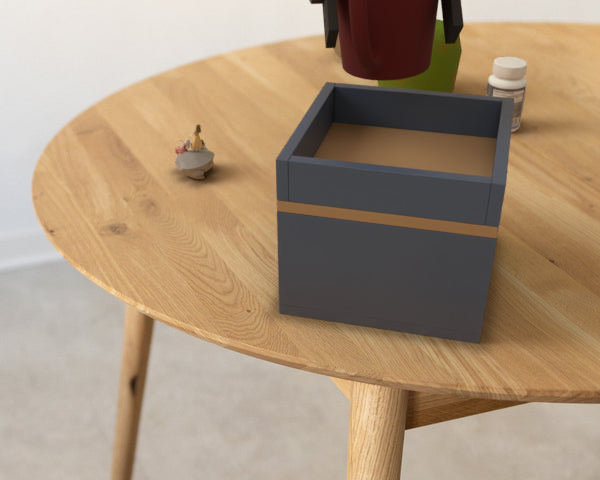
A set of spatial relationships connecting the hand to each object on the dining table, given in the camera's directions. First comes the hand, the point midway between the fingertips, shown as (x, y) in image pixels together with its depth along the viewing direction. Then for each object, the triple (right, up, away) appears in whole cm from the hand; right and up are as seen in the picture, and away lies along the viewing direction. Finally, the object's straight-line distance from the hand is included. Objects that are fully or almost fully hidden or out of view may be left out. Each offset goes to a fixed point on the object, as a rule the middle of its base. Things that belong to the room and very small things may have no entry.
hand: (393, 37), depth 60 cm
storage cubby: (+1, -18, +12) cm, 22 cm away
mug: (-1, -1, +5) cm, 5 cm away
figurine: (-19, -6, +29) cm, 35 cm away
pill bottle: (+18, +2, +40) cm, 44 cm away
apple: (+9, +8, +49) cm, 50 cm away
